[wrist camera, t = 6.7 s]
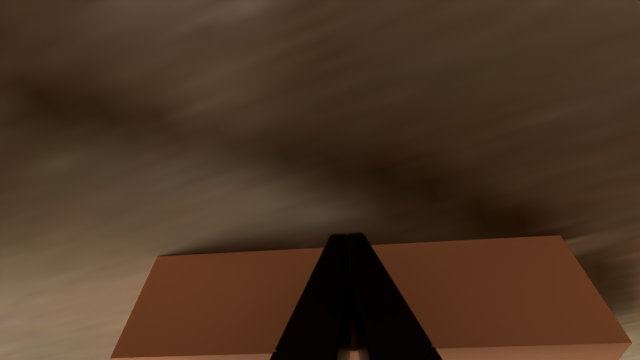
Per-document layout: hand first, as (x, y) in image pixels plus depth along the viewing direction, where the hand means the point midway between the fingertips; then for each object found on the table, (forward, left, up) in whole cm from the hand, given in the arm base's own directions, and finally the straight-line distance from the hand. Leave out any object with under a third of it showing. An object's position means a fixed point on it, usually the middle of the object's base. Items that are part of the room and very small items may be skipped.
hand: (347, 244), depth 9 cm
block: (0, -10, -1) cm, 10 cm away
